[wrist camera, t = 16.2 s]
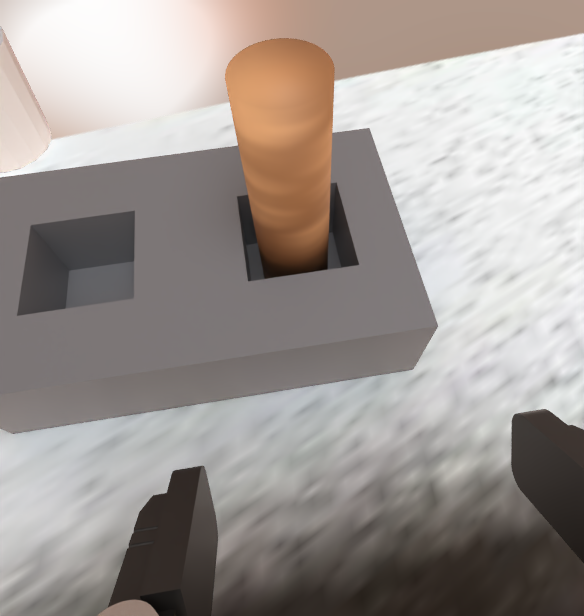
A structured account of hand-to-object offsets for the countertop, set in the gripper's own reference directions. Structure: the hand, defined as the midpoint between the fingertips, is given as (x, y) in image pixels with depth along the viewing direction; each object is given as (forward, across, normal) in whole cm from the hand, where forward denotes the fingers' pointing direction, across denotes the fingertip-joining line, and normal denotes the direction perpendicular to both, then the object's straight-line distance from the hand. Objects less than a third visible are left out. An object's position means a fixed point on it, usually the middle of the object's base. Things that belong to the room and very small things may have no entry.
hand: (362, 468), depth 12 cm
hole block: (+15, +5, -1) cm, 16 cm away
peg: (+14, 0, -2) cm, 14 cm away
